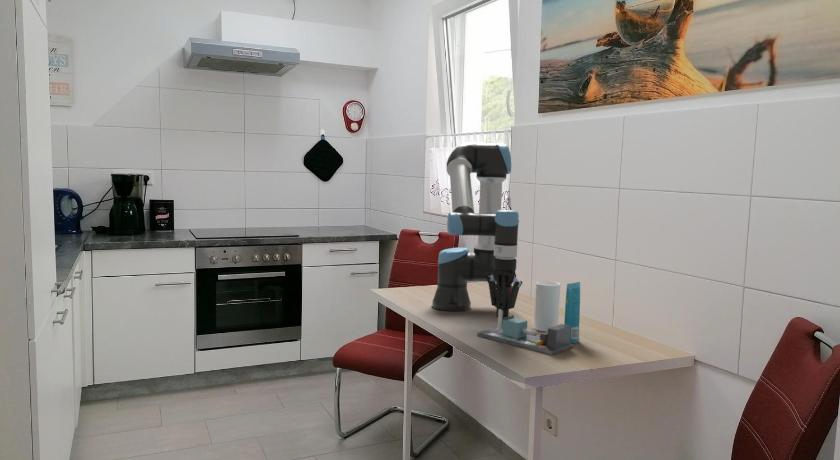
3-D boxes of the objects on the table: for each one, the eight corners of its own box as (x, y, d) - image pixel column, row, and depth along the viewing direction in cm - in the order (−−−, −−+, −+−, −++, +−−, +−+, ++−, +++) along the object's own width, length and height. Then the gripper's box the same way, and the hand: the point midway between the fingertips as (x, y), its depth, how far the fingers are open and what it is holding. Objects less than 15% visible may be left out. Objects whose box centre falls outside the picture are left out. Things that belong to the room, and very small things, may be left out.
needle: (533, 345, 189) (533, 335, 189) (544, 341, 194) (545, 331, 194) (538, 346, 188) (539, 337, 188) (550, 342, 193) (550, 333, 193)
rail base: (477, 335, 203) (478, 314, 202) (498, 329, 212) (499, 309, 211) (552, 355, 184) (553, 331, 183) (572, 347, 193) (573, 324, 192)
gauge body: (502, 334, 200) (503, 317, 200) (511, 332, 204) (511, 314, 204) (531, 341, 193) (532, 323, 192) (539, 339, 197) (540, 321, 196)
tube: (569, 337, 204) (572, 280, 202) (582, 340, 201) (586, 282, 199) (558, 342, 199) (561, 283, 197) (572, 345, 195) (575, 285, 194)
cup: (544, 332, 210) (546, 286, 208) (529, 326, 217) (531, 281, 215) (563, 330, 214) (565, 284, 212) (547, 324, 221) (549, 280, 219)
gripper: (482, 256, 203) (479, 326, 205) (515, 261, 194) (511, 334, 196) (495, 254, 208) (492, 322, 211) (528, 259, 200) (524, 330, 202)
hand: (501, 328), depth 204 cm, fingers closed
